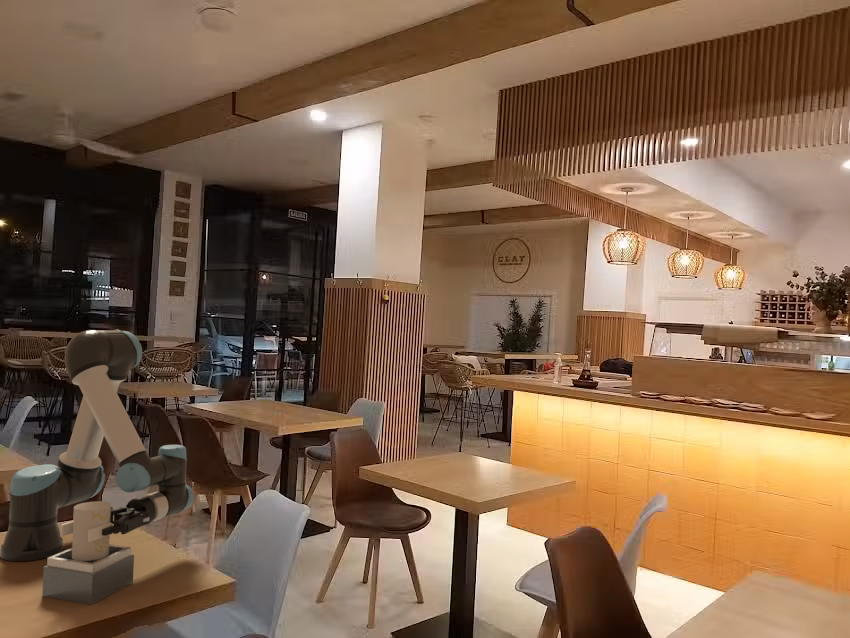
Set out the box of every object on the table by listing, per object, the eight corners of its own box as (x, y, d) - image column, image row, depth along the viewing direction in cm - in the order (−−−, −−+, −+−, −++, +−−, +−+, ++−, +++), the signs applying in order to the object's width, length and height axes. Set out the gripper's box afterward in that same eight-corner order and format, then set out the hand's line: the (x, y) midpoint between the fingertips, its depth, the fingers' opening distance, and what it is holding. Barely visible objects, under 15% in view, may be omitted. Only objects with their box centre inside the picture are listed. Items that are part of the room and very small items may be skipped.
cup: (93, 562, 156) (95, 511, 156) (63, 558, 158) (65, 508, 158) (116, 551, 164) (118, 503, 164) (87, 547, 166) (89, 500, 166)
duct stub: (42, 596, 156) (44, 558, 156) (87, 575, 170) (88, 540, 170) (91, 604, 152) (92, 566, 152) (132, 582, 166) (134, 547, 166)
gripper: (176, 528, 174) (108, 555, 153) (115, 517, 182) (42, 542, 160) (177, 500, 174) (109, 523, 153) (116, 490, 182) (43, 511, 160)
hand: (75, 533), depth 157 cm, fingers closed on cup, 8 cm apart
